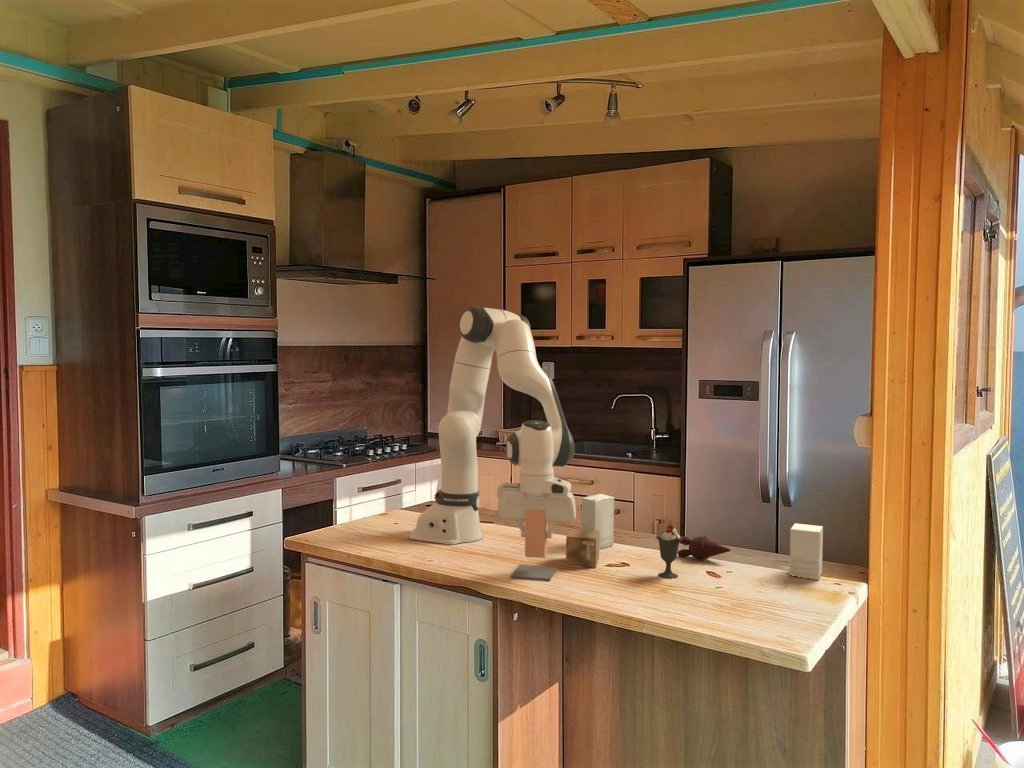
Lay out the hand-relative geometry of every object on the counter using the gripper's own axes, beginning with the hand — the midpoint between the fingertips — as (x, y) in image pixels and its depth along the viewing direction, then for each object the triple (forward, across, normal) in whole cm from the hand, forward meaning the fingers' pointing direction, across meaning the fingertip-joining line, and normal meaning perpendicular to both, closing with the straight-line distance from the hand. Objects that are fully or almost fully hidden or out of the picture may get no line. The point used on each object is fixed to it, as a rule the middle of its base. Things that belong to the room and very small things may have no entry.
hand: (536, 537), depth 204 cm
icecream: (+10, +43, +24) cm, 50 cm away
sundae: (+10, +34, +6) cm, 36 cm away
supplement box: (+11, +69, +16) cm, 71 cm away
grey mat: (+10, -1, 0) cm, 10 cm away
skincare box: (+10, +13, +30) cm, 35 cm away
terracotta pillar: (+5, 0, 0) cm, 5 cm away
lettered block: (+10, +11, +12) cm, 19 cm away
